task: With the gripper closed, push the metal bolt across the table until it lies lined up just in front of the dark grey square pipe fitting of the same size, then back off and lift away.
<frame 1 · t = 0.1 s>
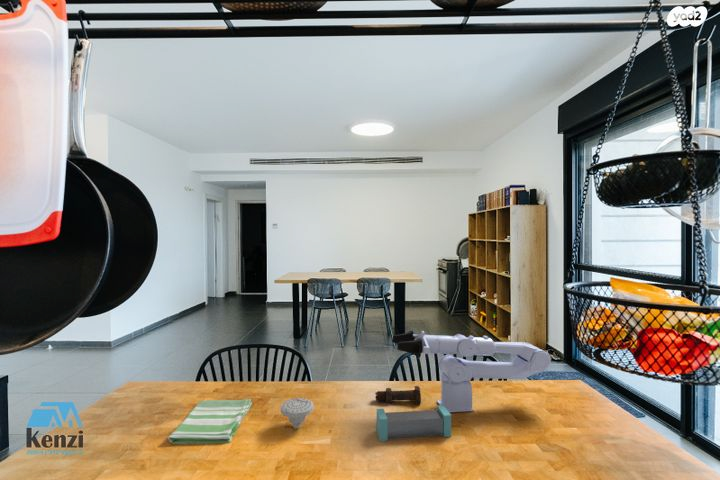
hand: (395, 342, 115), 22 cm above the table, tool horizontal, fingers open, 7 cm apart
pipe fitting: (413, 433, 101), on the table
bolt: (397, 402, 121), on the table
dish towel: (213, 424, 107), on the table
showerhead: (296, 427, 104), on the table
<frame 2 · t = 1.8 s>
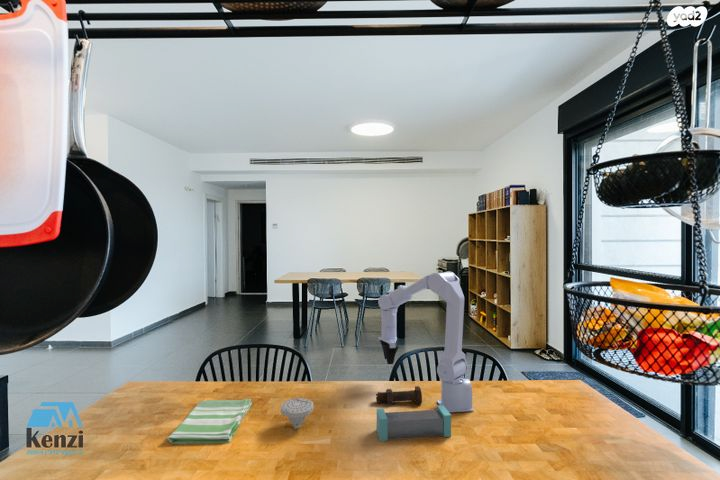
hand: (388, 361, 136), 8 cm above the table, tool pointing down, fingers open, 5 cm apart
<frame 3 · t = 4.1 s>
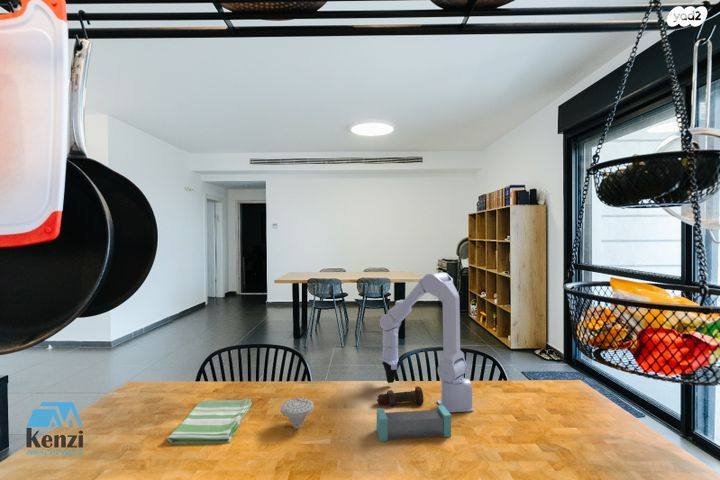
hand: (390, 382, 133), 1 cm above the table, tool pointing down, fingers closed
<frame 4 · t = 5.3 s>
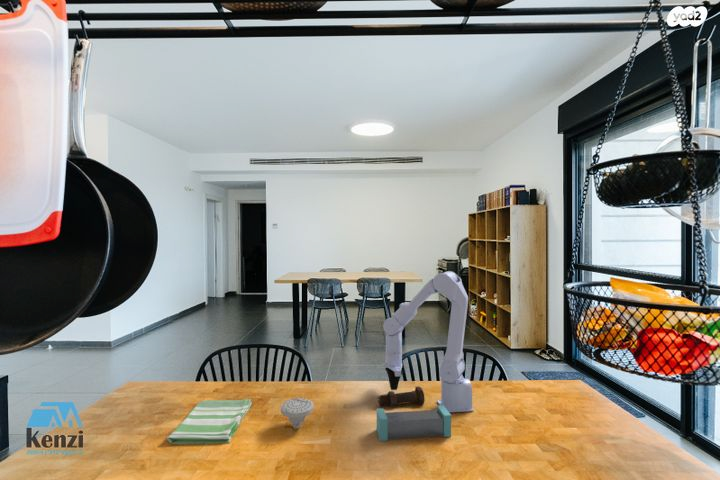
hand: (393, 389, 127), 1 cm above the table, tool pointing down, fingers closed
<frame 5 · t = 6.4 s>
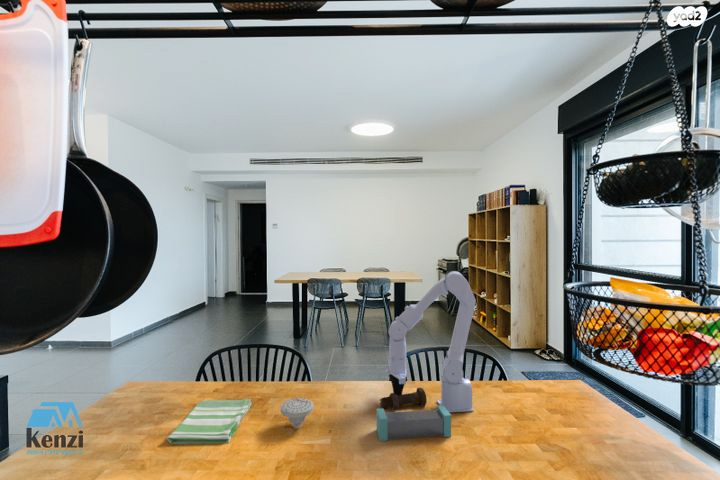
hand: (397, 397, 121), 1 cm above the table, tool pointing down, fingers closed
bolt: (402, 407, 117), on the table, touching gripper
everything else where it was.
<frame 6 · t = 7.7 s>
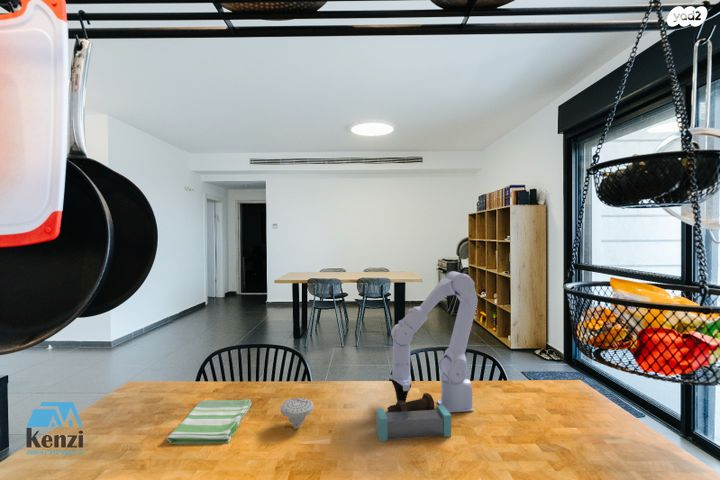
hand: (401, 404, 115), 2 cm above the table, tool pointing down, fingers closed
bolt: (409, 414, 113), on the table
everything else where it was.
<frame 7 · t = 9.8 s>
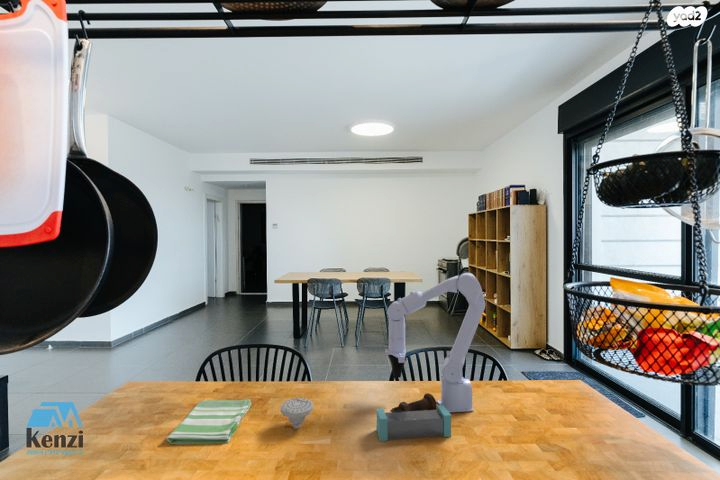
hand: (397, 376, 122), 8 cm above the table, tool pointing down, fingers closed
bolt: (412, 415, 112), on the table
everything else where it was.
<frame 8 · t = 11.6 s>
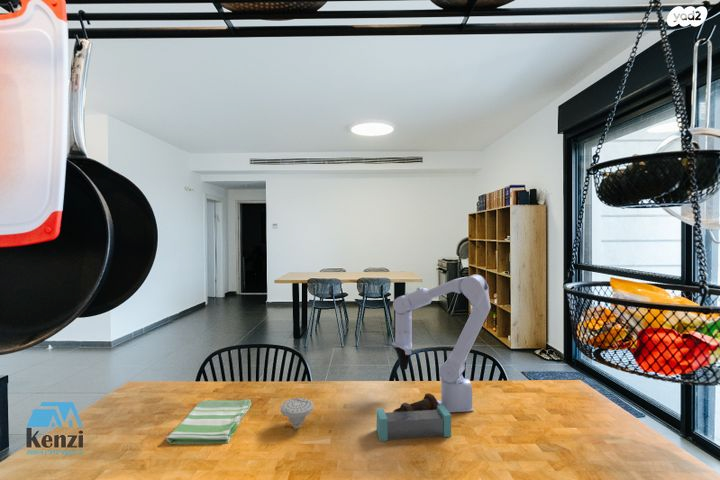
hand: (403, 368, 125), 9 cm above the table, tool pointing down, fingers closed
at the end: bolt inside the target area (3.6 cm from its centre), on the table; bolt moved 10.4 cm from its start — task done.
